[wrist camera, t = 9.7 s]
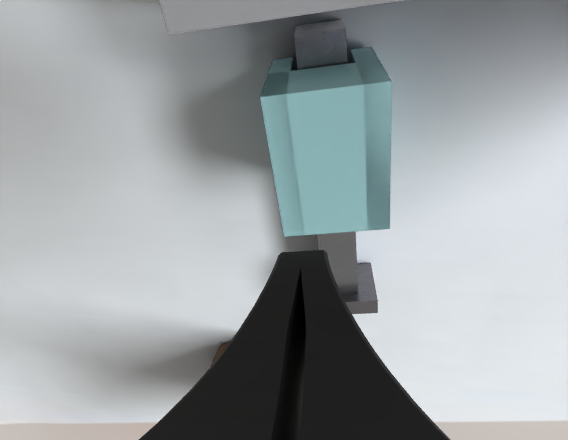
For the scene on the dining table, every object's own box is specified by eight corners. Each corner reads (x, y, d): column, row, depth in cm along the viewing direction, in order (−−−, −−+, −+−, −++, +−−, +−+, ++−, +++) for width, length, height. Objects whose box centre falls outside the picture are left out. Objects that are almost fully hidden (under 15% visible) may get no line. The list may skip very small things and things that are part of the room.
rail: (365, 15, 17) (375, 28, 14) (370, 274, 25) (377, 312, 23) (273, 29, 18) (266, 43, 15) (308, 278, 26) (308, 316, 23)
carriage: (371, 46, 17) (391, 81, 13) (373, 168, 21) (389, 228, 16) (272, 59, 18) (260, 97, 14) (289, 176, 21) (284, 236, 17)
